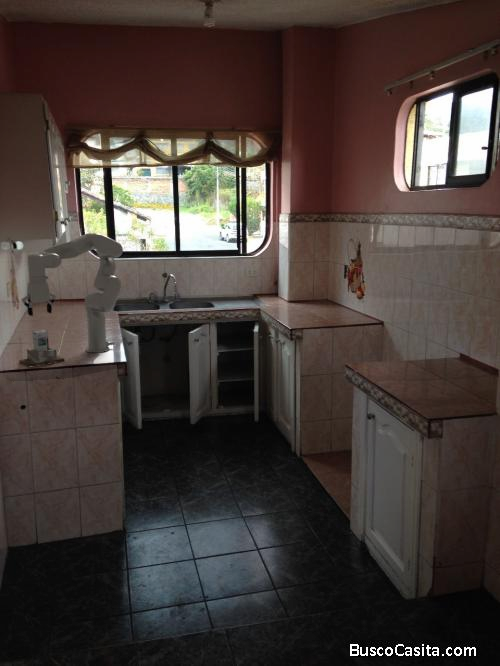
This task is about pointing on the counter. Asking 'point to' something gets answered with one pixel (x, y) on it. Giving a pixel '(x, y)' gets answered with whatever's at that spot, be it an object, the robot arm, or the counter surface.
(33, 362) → the collar stand
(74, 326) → the counter surface
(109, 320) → the counter surface
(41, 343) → the syrup box
